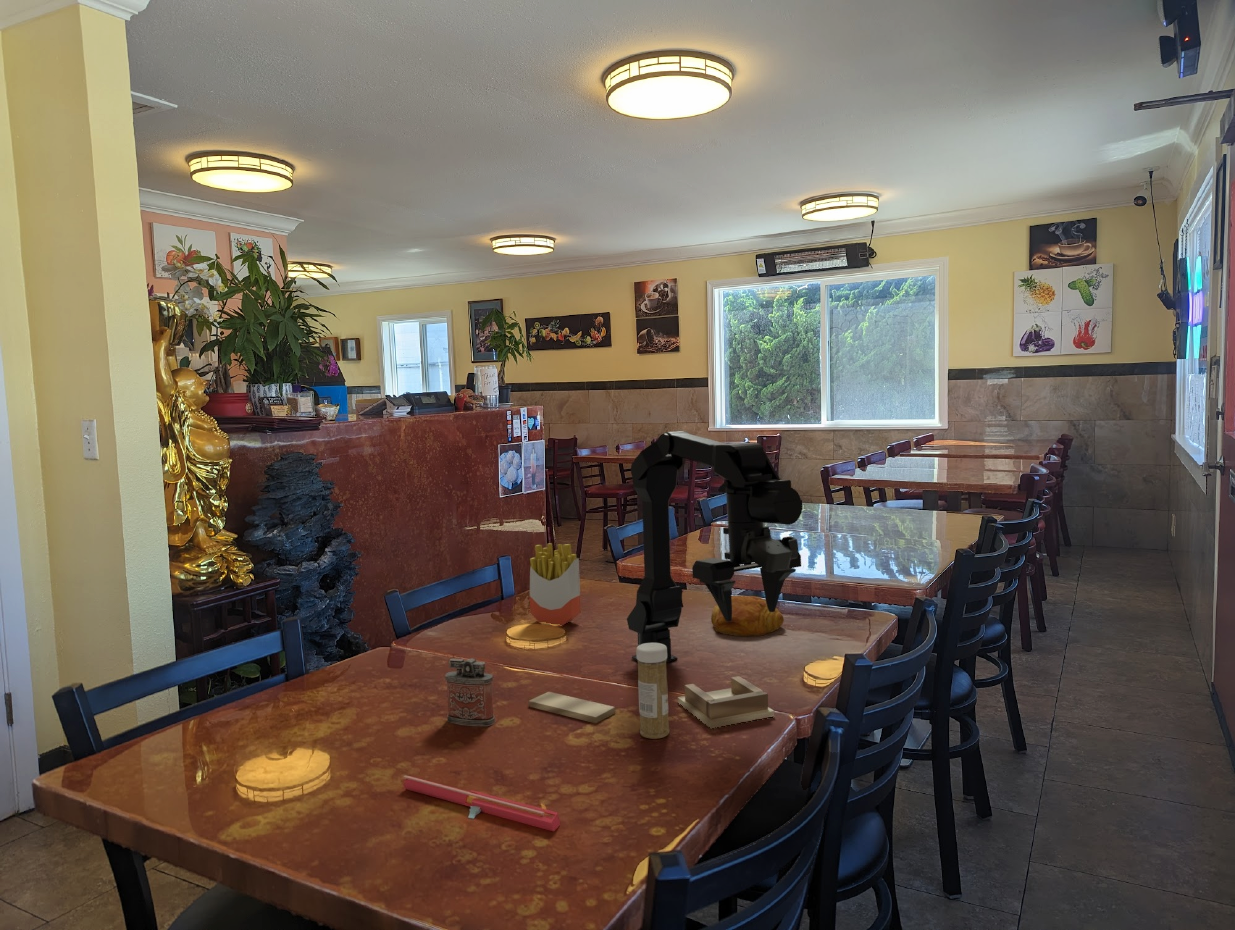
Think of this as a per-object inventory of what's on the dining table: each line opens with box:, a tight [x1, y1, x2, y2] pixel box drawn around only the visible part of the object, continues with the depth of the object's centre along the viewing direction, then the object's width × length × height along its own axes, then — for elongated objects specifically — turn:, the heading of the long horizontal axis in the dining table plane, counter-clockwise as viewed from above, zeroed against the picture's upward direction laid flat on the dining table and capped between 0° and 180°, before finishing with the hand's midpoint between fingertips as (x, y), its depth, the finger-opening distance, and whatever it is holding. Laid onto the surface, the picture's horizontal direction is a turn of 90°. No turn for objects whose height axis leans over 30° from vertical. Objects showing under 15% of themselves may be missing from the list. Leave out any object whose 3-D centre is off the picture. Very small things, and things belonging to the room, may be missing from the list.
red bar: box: [403, 775, 561, 832], centre depth 104 cm, size 24×2×5 cm
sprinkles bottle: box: [635, 643, 670, 740], centre depth 125 cm, size 5×5×13 cm
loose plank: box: [528, 691, 616, 724], centre depth 136 cm, size 14×5×2 cm, turn 54°
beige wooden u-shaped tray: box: [677, 675, 775, 730], centre depth 134 cm, size 12×11×4 cm
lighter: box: [444, 657, 496, 727], centre depth 132 cm, size 8×3×10 cm, turn 71°
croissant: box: [710, 594, 785, 637], centre depth 180 cm, size 14×16×8 cm
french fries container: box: [529, 542, 582, 626], centre depth 189 cm, size 5×11×18 cm, turn 64°
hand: (750, 616), depth 136 cm, fingers open, 9 cm apart
